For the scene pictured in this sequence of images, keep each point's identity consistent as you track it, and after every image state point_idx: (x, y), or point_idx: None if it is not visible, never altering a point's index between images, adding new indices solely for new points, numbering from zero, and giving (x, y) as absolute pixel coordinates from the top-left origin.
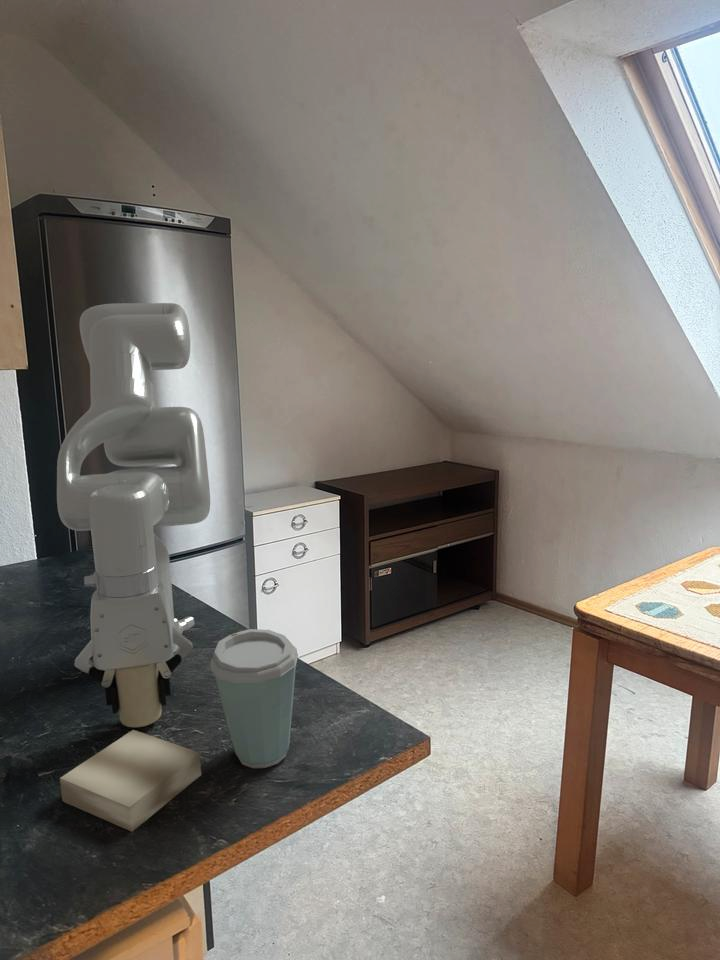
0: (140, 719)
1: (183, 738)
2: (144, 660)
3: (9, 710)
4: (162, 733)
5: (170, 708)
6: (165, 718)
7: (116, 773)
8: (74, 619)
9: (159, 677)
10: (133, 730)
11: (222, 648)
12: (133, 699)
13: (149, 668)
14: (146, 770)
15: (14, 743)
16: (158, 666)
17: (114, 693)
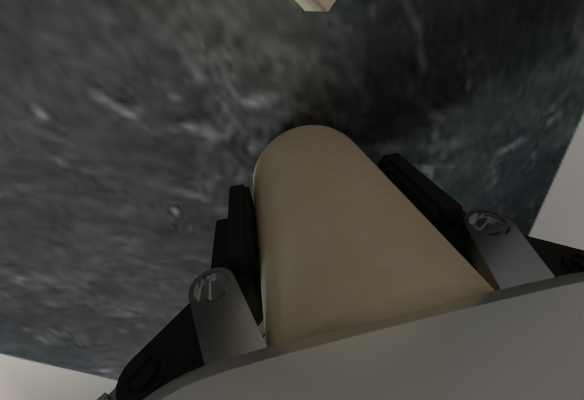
0: (306, 133)
1: (154, 67)
2: (356, 385)
3: (532, 224)
4: (236, 110)
5: None
6: (246, 181)
7: None
8: None
9: (254, 273)
10: (326, 1)
11: None
12: (348, 167)
13: (299, 308)
14: None
15: (571, 117)
16: (250, 327)
17: (427, 192)
